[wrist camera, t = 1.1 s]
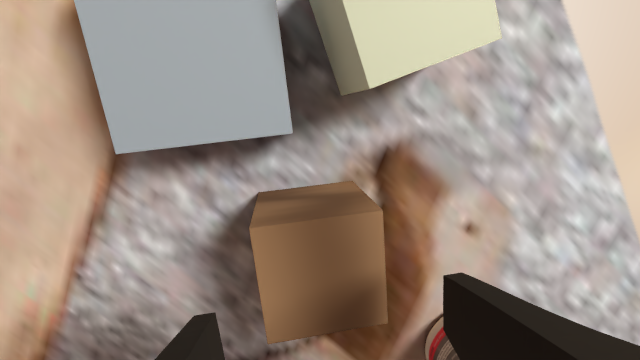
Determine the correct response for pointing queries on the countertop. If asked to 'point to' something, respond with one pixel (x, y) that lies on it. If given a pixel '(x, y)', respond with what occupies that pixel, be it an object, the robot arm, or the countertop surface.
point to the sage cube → (399, 36)
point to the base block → (186, 70)
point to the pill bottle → (439, 344)
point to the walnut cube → (319, 260)
